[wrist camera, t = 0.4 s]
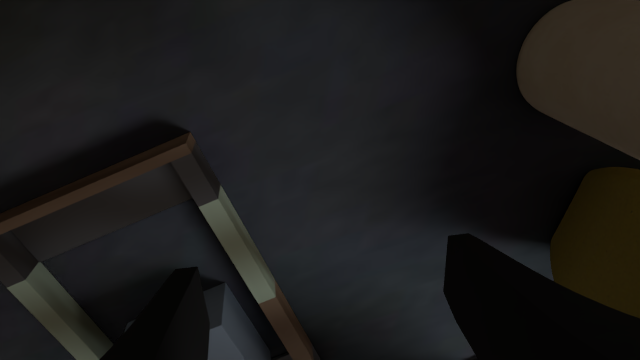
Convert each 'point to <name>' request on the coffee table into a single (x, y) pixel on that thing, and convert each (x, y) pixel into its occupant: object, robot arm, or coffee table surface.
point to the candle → (587, 69)
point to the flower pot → (602, 240)
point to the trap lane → (115, 213)
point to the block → (230, 328)
